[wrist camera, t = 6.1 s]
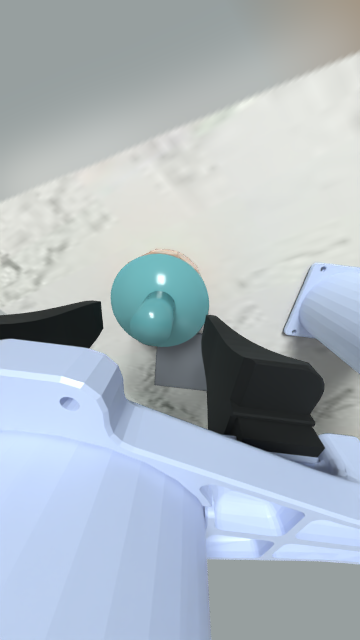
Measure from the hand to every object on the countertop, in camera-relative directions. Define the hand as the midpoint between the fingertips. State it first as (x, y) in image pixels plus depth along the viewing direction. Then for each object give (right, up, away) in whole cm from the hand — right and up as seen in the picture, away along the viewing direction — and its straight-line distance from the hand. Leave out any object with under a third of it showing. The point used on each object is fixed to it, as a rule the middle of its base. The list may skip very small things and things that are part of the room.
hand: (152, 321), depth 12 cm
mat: (+3, -6, +11) cm, 13 cm away
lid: (0, +2, +4) cm, 4 cm away
